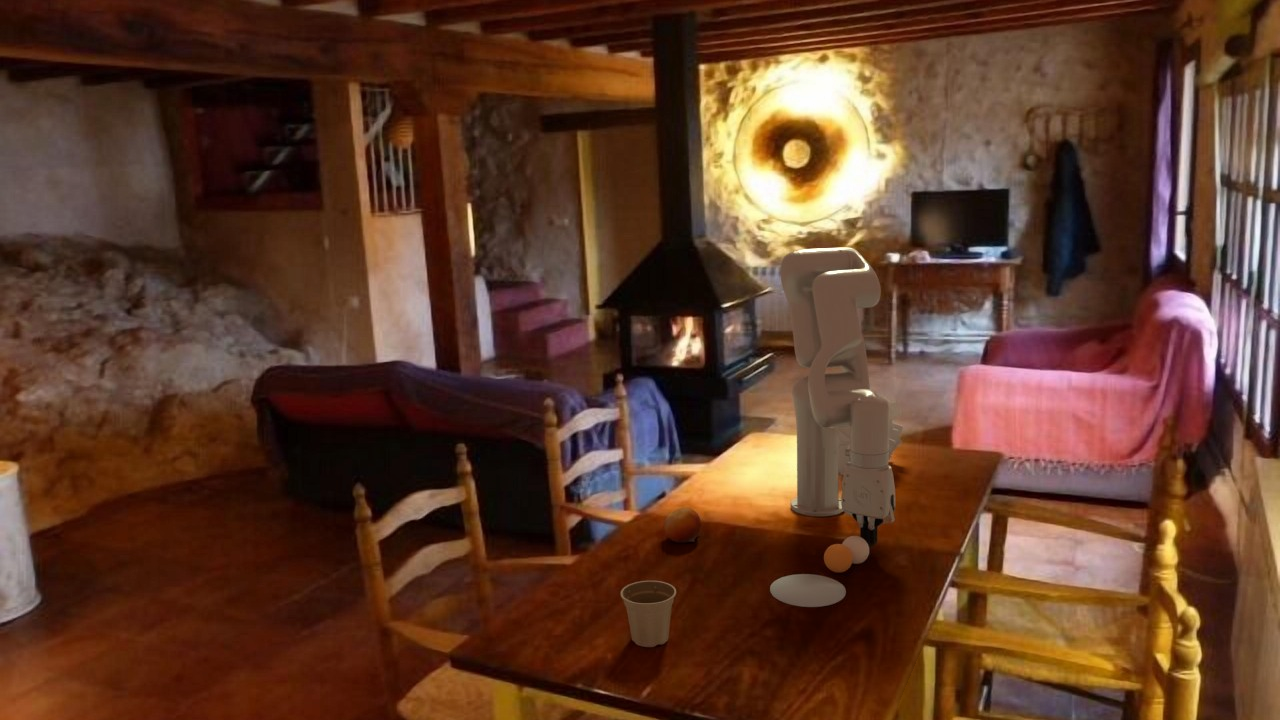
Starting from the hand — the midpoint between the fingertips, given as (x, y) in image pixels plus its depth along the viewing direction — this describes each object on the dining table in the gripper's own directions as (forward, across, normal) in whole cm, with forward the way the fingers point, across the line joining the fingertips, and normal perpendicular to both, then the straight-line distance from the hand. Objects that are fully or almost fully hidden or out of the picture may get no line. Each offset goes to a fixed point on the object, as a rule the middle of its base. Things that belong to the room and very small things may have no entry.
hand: (868, 545), depth 195 cm
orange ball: (-1, 0, -11) cm, 11 cm away
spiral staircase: (+2, -28, +51) cm, 58 cm away
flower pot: (+2, -12, -55) cm, 56 cm away
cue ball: (-1, 0, -6) cm, 6 cm away
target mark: (+2, -1, -22) cm, 22 cm away
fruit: (+2, -36, -16) cm, 39 cm away
